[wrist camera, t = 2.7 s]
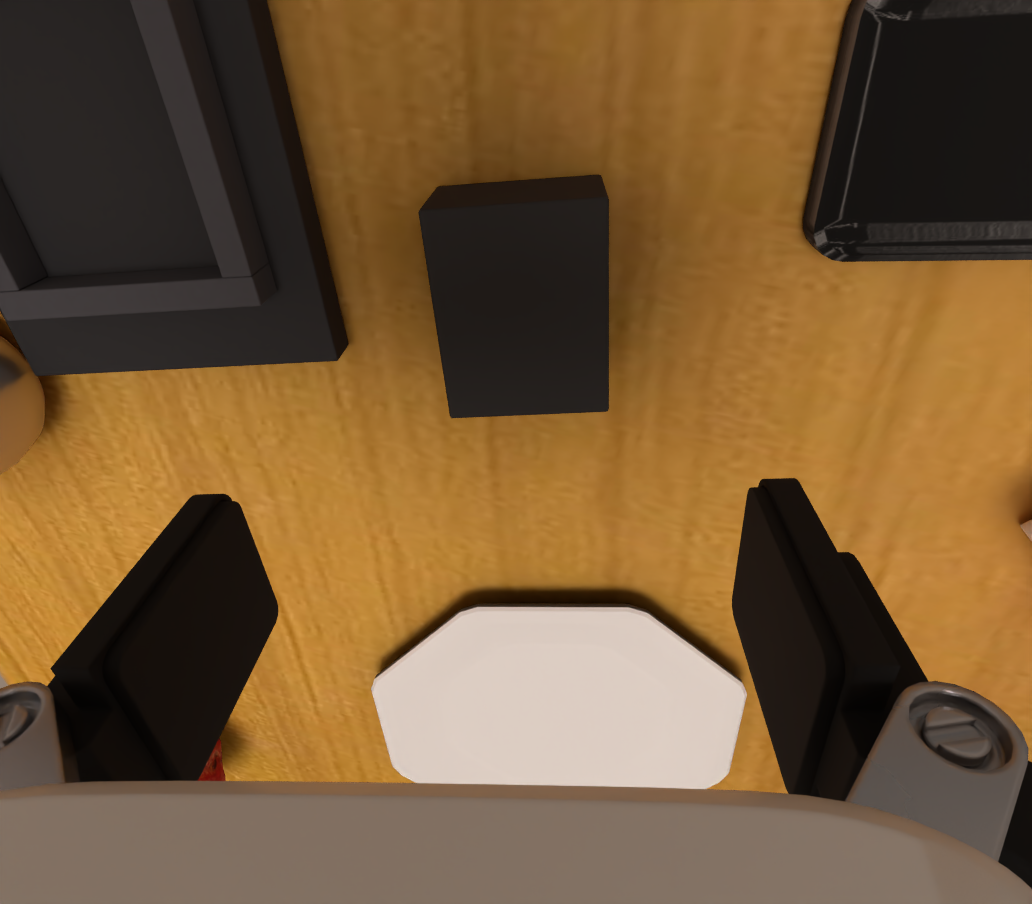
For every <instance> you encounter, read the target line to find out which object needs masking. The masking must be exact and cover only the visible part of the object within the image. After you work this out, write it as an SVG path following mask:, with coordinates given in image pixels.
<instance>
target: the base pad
mask: <svg viewBox="0 0 1032 904" xmlns="http://www.w3.org/2000/svg"><path fill="white" fill-rule="evenodd" d="M0 311H1V313H2V315H3V317H4V319H5V321H6V322H7V324H8V326H9V328H10V330H11V332H12V334H13V335H14V337H15V339H16V341H17V343H18V345H19V346H20V348H21V350H22V352H23V354H24V356H25V358H26V359H27V361H28V363H29V365H30V367H31V369H32V371H33V372H34V374H35V376H46V375H66V374H86V373H106V372H125V371H145V370H165V369H185V368H204V367H224V366H244V365H264V364H283V363H303V362H323V361H337V360H338V359H339V358H340V356H341V355H342V353H343V352H344V350H345V349H346V347H347V346H348V341H347V336H346V332H345V328H344V324H343V320H342V315H341V311H340V307H339V303H338V299H337V294H336V290H335V286H334V282H333V278H332V273H331V269H330V265H329V261H328V257H327V252H326V248H325V244H324V240H323V236H322V231H321V227H320V223H319V219H318V215H317V210H316V206H315V202H314V198H313V194H312V189H311V185H310V181H309V177H308V173H307V168H306V164H305V160H304V156H303V152H302V147H301V143H300V139H299V135H298V131H297V126H296V122H295V118H294V114H293V110H292V105H291V101H290V97H289V93H288V89H287V84H286V80H285V76H284V72H283V68H282V63H281V59H280V55H279V51H278V47H277V42H276V38H275V34H274V30H273V26H272V21H271V17H270V13H269V9H268V5H267V0H0Z"/></svg>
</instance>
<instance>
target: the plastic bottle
mask: <svg viewBox="0 0 1032 904" xmlns="http://www.w3.org/2000/svg"><path fill="white" fill-rule="evenodd" d="M44 420H45V397H44V392H43V388H42V385H41V383H40V381H39V378H38V376H35V374H34V372H33V371H32V369H31V367H30V365H29V363H28V361H27V360H26V359H25V357H24V356H23V355H22V354H21V353H20V352H19V351H18V350H17V349H16V348H15V347H14V346H13V345H12V344H11V343H10V342H8V341H7V340H6V339H4V338H3V337H2V336H0V474H2V473H3V472H5V471H7V470H8V469H10V468H11V467H13V466H14V465H15V464H17V463H18V462H19V461H20V459H21V458H22V457H23V456H24V454H25V453H26V452H27V451H28V450H29V448H30V447H31V446H32V445H33V443H34V442H35V441H36V439H37V438H38V437H39V435H40V434H41V432H42V429H43V426H44Z"/></svg>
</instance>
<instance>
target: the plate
mask: <svg viewBox="0 0 1032 904" xmlns="http://www.w3.org/2000/svg"><path fill="white" fill-rule="evenodd" d="M371 691H372V694H373V698H374V701H375V705H376V709H377V712H378V716H379V719H380V723H381V727H382V730H383V734H384V737H385V741H386V745H387V748H388V752H389V755H390V759H391V763H392V766H393V767H394V768H395V769H396V770H397V771H398V772H399V773H400V774H401V775H402V776H404V777H406V778H408V779H410V780H412V781H414V782H416V783H441V784H506V785H558V786H610V787H656V788H684V789H706V788H709V787H711V786H713V785H715V784H717V783H719V782H720V781H721V780H722V779H723V778H724V777H725V776H726V775H727V774H728V773H729V770H730V766H731V762H732V757H733V753H734V748H735V744H736V740H737V735H738V731H739V727H740V722H741V718H742V714H743V709H744V705H745V700H746V696H747V693H746V690H745V688H744V685H743V683H742V681H741V679H739V678H738V677H737V676H735V675H734V674H733V673H731V672H730V671H729V670H727V669H726V668H725V667H723V666H722V665H721V664H719V663H718V662H716V661H715V660H714V659H712V658H711V657H710V656H708V655H707V654H706V653H704V652H703V651H702V650H700V649H699V648H698V647H696V646H695V645H693V644H692V643H691V642H689V641H688V640H687V639H685V638H684V637H683V636H681V635H680V634H679V633H677V632H676V631H675V630H673V629H672V628H671V627H669V626H668V625H666V624H665V623H664V622H662V621H661V620H660V619H658V618H657V617H656V616H654V615H653V614H652V613H650V612H649V611H648V610H646V609H643V608H639V607H636V606H633V605H629V604H494V603H479V604H476V605H473V606H469V607H466V608H463V609H460V610H459V611H458V612H456V613H455V614H454V615H453V616H451V617H450V618H449V619H448V620H446V621H445V622H444V623H442V624H441V625H440V626H439V627H437V628H436V629H435V630H434V631H432V632H431V633H430V634H428V635H427V636H426V637H425V638H423V639H422V640H421V641H420V642H418V643H417V644H416V645H414V646H413V647H412V648H411V649H409V650H408V651H407V652H406V653H404V654H403V655H402V656H400V657H399V658H398V659H397V660H395V661H394V662H393V663H391V664H390V665H389V666H388V667H386V668H385V669H384V670H383V671H381V672H380V673H379V674H377V675H376V677H375V680H374V683H373V685H372V688H371Z"/></svg>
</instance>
